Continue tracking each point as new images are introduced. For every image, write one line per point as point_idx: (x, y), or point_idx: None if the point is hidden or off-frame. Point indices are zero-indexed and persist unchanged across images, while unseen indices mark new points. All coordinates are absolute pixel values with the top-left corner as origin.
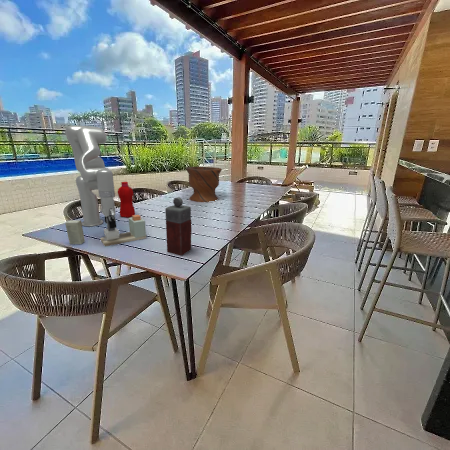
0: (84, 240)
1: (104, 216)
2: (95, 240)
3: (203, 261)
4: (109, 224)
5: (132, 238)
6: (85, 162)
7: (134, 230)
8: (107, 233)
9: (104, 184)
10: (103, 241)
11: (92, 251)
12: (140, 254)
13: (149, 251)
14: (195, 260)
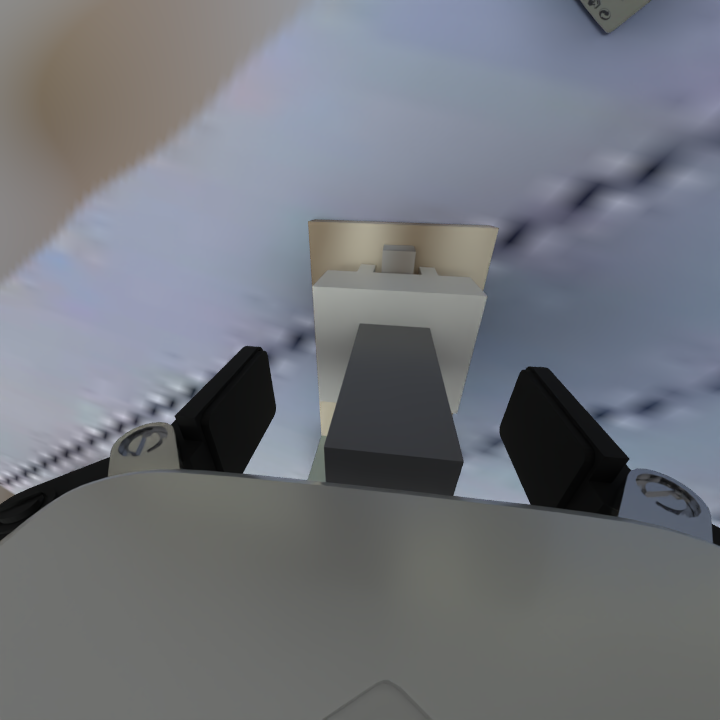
0: (609, 19)
1: (628, 459)
2: (531, 175)
3: (16, 493)
4: (221, 376)
5: (321, 419)
6: None
7: (318, 479)
8: (316, 289)
9: None
10: (377, 228)
11: (248, 66)
12: (106, 366)
13: (138, 411)
14: (24, 482)
